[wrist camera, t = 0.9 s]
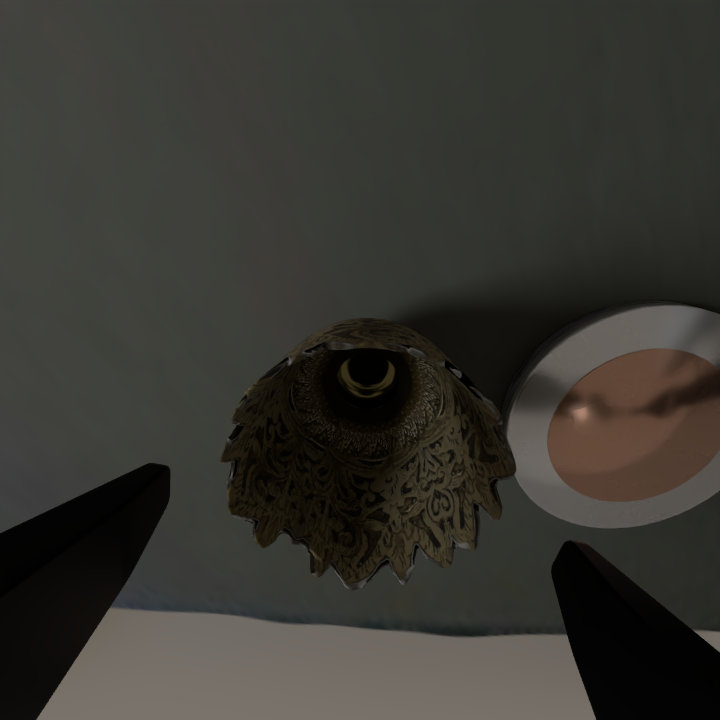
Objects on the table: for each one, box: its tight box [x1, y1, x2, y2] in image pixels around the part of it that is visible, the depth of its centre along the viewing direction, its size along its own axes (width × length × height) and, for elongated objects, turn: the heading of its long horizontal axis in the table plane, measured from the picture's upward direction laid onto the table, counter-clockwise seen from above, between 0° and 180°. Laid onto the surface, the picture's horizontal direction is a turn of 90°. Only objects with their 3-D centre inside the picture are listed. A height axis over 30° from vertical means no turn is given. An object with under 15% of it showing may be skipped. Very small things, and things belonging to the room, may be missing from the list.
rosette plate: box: [501, 300, 720, 528], centre depth 17 cm, size 11×11×1 cm
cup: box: [220, 318, 516, 591], centre depth 13 cm, size 8×7×8 cm
